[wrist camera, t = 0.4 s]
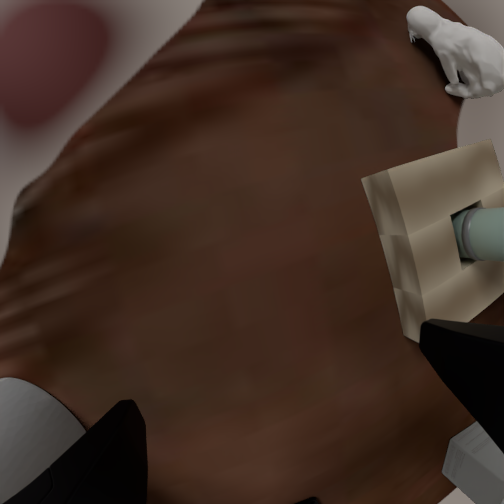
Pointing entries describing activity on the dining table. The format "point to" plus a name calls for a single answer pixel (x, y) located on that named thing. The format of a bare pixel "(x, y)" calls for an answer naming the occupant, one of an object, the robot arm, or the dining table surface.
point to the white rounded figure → (461, 53)
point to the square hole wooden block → (436, 233)
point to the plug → (480, 233)
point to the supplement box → (476, 465)
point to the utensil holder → (31, 433)
